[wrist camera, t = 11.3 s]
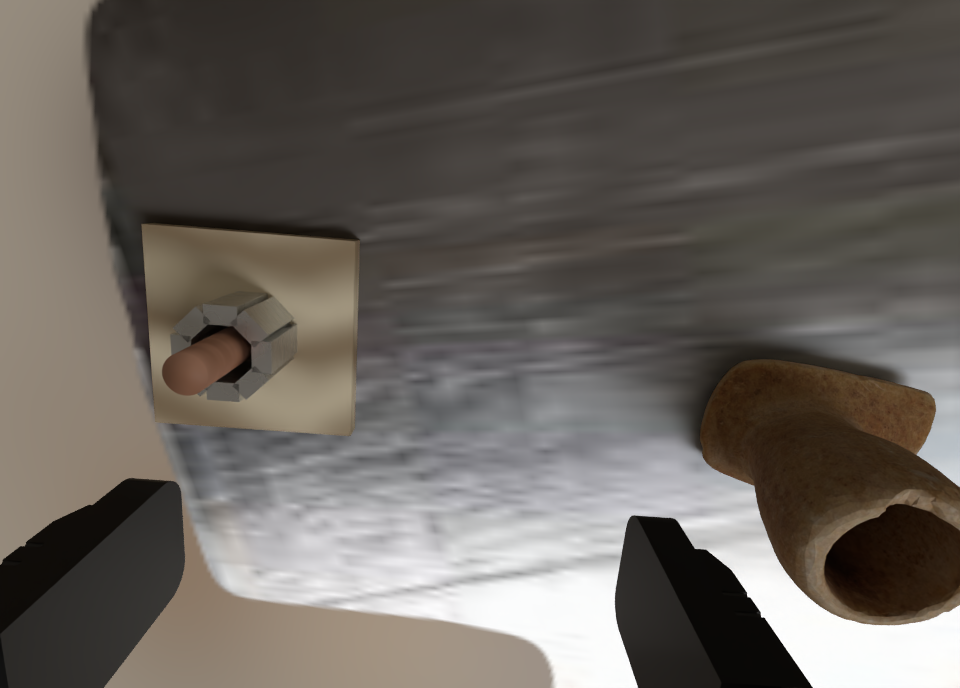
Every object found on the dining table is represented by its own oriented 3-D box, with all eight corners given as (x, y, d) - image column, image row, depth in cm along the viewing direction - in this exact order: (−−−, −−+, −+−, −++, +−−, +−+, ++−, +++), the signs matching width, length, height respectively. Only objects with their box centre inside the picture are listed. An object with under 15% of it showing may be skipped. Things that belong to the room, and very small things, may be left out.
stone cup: (670, 482, 43) (770, 625, 28) (721, 338, 40) (862, 415, 25) (850, 521, 44) (1037, 679, 29) (913, 383, 41) (1154, 482, 26)
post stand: (154, 223, 38) (35, 230, 27) (359, 239, 38) (317, 253, 28) (166, 414, 41) (64, 483, 31) (354, 427, 41) (315, 500, 31)
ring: (208, 288, 37) (168, 301, 32) (297, 295, 37) (270, 309, 33) (211, 373, 39) (174, 397, 34) (297, 379, 39) (272, 404, 34)
